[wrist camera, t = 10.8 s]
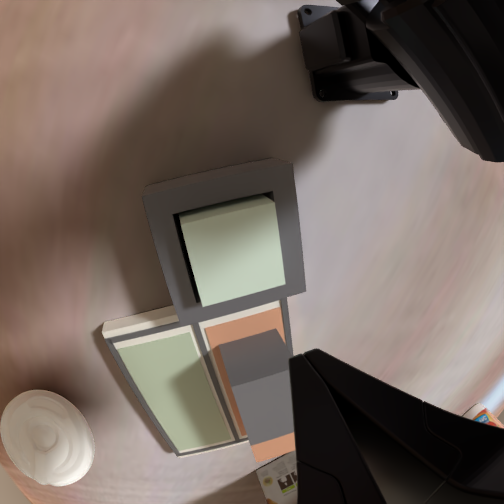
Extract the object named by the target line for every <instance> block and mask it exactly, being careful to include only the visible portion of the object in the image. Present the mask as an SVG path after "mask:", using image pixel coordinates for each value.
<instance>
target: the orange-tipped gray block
mask: <svg viewBox="0 0 504 504" xmlns="http://www.w3.org/2000/svg"><path fill="white" fill-rule="evenodd" d="M219 348H220V352H221V355H222V359H223V362H224V365H225V369H226V372H227V375H228V378H229V382H230V385H231V388H232V391H233V394H234V397H235V400H236V404H237V407H238V410H239V413H240V416H241V419H242V422H243V425H244V428H245V430H246V433H247V436H248V439H249V442H250V445H251V448H252V451H253V453H254V456H255V459H256V462H260V461H264V460H267V459H270V458H273V457H277V456H280V455H283V454H286V453H289V452H291V451H294V450H295V439H294V426H293V413H292V400H291V388H290V377H289V366H288V359H289V358H290V357H292V355H291V353H290V351H289V349H288V348H287V346H286V344H285V343H284V341H283V339H282V337H281V336H280V334H279V332H278V331H277V329H276V328H275V329H272V330H269V331H265V332H262V333H259V334H255V335H252V336H248V337H245V338H241V339H238V340H234V341H231V342H227V343H223V344H220V345H219Z"/></svg>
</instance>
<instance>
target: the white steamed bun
mask: <svg viewBox="0 0 504 504" xmlns="http://www.w3.org/2000/svg"><path fill="white" fill-rule="evenodd" d="M0 433H1V439H2V442H3V445H4V448H5V450H6V452H7V454H8V455H9V457H10V459H11V460H12V462H13V463H14V464H15V465H16V467H17V468H18V469H19V470H20V471H21V472H22V473H24V474H25V475H26V476H28V477H30V478H32V479H35V480H36V481H37V482H38V483H40V484H42V485H47V484H51V485H53V486H65V485H69V484H72V483H74V482H76V481H78V480H79V479H80V478H82V477H83V476H84V475H85V474H86V473H87V472H88V470H89V469H90V467H91V465H92V462H93V459H94V454H95V443H94V438H93V434H92V431H91V429H90V427H89V425H88V423H87V421H86V419H85V418H84V416H83V415H82V413H81V412H80V411H79V410H78V409H77V408H76V407H75V406H74V405H73V404H72V403H71V402H70V401H68V400H67V399H65V398H64V397H62V396H60V395H58V394H56V393H54V392H51V391H46V390H30V391H26V392H23V393H21V394H19V395H18V396H16V397H15V398H13V399H12V400H11V401H10V402H9V403H8V404H7V406H6V407H5V409H4V412H3V414H2V417H1V422H0Z"/></svg>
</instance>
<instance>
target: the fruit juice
mask: <svg viewBox="0 0 504 504" xmlns="http://www.w3.org/2000/svg"><path fill="white" fill-rule="evenodd" d="M462 417H465V418H468V419H471V420H475V421H478V422H482V423H486V424H489V425H493V426H497V427H500V428H504V426H503V425H502V424H501V423H500V422H499V420H498V419H497V418H496V417H495V416H494V415H493V414H492V413H491V412H490V411H489V410H488V409H487V408H486V407H485V406H484V405H482V404H481V403H478V404H476V405H474V406H473V407H472V408H471V409H470V410H468V411H467V412H466V413H465V414H464V415H463V416H462Z"/></svg>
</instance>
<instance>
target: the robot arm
mask: <svg viewBox="0 0 504 504" xmlns="http://www.w3.org/2000/svg"><path fill="white" fill-rule="evenodd" d="M336 1H337V2H338V3H340V4H341V5H342V7H340V8H338V7H328V6H316V5H303V6H302V7H301V8H299V10H298V16H299V20H300V25H301V31H300V38H301V43H302V49H303V54H304V59H305V65H306V69H307V70H308V71H309V73H310V79H311V85H312V91H313V96H314V98H315V99H316V100H317V101H320V102H325V101H345V100H395V99H396V98H397V97H398V90H415V89H421V90H422V91H423V92H424V94H425V95H426V96H427V98H428V99H429V100H430V102H431V103H432V104H433V106H434V107H435V109H436V110H437V111H438V113H439V115H440V117H441V118H442V120H443V121H444V122H445V123H446V125H447V126H448V128H449V129H450V131H451V132H452V134H453V135H454V137H455V138H456V139H457V140H458V142H459V143H460V144H461V145H462V146H463V147H465V148H467V149H469V150H470V151H472V152H474V153H476V154H479V156H480V158H481V159H482V160H485V161H491V162H504V0H336ZM343 5H344V6H343ZM304 10H306V11H308V12H309V15H307V14H306V13H305V12H304ZM320 90H322V91H323V92H324V96H323V97H321V96H320ZM390 91H391V92H392V95H391V94H390ZM288 366H289V377H290V388H291V400H292V413H293V426H294V439H295V453H296V470H297V504H504V428H500V427H497V426H493V425H489V424H486V423H482V422H478V421H475V420H471V419H468V418H465V417H462V416H459V415H456V414H453V413H451V412H448V411H446V410H443V409H441V408H438V407H436V406H434V405H432V404H429V403H427V402H425V401H424V402H423V401H422V400H421V399H418V398H416V397H414V396H412V395H410V394H408V393H406V392H403V391H401V390H399V389H397V388H395V387H393V386H391V385H389V384H387V383H385V382H383V381H381V380H379V379H377V378H375V377H373V376H371V375H369V374H367V373H365V372H363V371H361V370H359V369H357V368H355V367H353V366H351V365H349V364H347V363H345V362H343V361H341V360H339V359H337V358H335V357H333V356H331V355H329V354H328V353H326V352H324V351H322V350H320V349H313V350H310V351H307V352H305V353H304V354H298V355H295V356H292V357H290V358H289V359H288Z"/></svg>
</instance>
